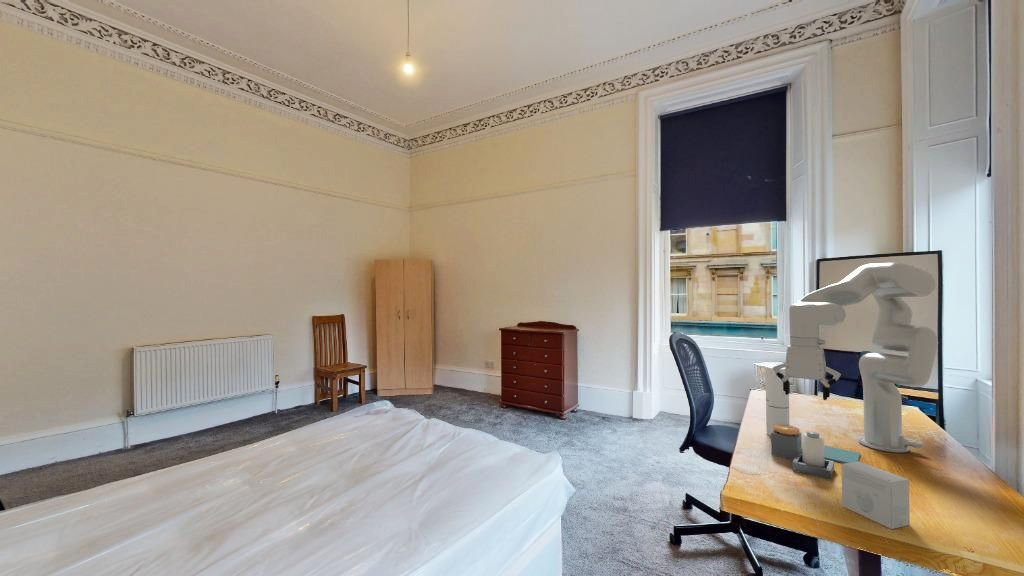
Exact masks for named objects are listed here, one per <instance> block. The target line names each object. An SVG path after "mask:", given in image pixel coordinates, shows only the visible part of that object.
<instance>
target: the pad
mask: <svg viewBox="0 0 1024 576" xmlns="http://www.w3.org/2000/svg"><path fill="white" fill-rule="evenodd" d="M860 457H861V453H860V452H857V451H853V450H848V449H843V448H839V447H834V446H829V445H825V444H824V459H826V460H830V461H834V463H835V462H836V463H840V464H844V463H851V462H858V461H859V462H860Z"/></svg>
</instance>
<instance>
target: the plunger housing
mask: <svg viewBox="0 0 1024 576" xmlns="http://www.w3.org/2000/svg"><path fill="white" fill-rule="evenodd" d="M802 434H803V432H800V434H797V435H793V436H789V435H784V434H780V433H779V432H777V431H775V430H773V432H772V433H771V436H770V439H771V443H770V444H771V446H770V447H771V450H770V451H771V455H772V456H775V455H776V457H780V458H784V459H789V460H792V461H793V460H794V459H795V457H796V456H797V454H798V453H800V454H802Z"/></svg>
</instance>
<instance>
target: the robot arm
mask: <svg viewBox="0 0 1024 576" xmlns="http://www.w3.org/2000/svg"><path fill="white" fill-rule="evenodd" d="M936 285H937V284H936V279H935V277H934V276H933V275H932V274H931V273H930V272H928V271H927V270H924V269H922V268H918V267H915V266H914V265H910V264H907V263H903V262H897V261H895V262H894V261H893V262H879V263H878V262H877V263H867V264H863V265H861V266H859V267H857V268H856V269H854V270H853V271H852V272H850V273H849V274H848V275H847V276H845V277H844V278H842V279H841V280H840V281H839V282H837V283H833V284H830V285H828V286H826V287H822V288H820V289H817V290H814V291H812V292H810V293H808V294H806V295H804V296H803V297H802V298H800V299H799V300H797V302H795V303H793V304H791V305H790V306H789V308H788V309H789V312H788V314H789V315H788V316H789V319H788V320H789V341H790V342H789V344H788V345H787V347H786V355H785V362H783V363H781V364H778V365H775V366H774V367H773V370H774V371H775V373H776V375H777V376H778V377H779V378H780V379H781V380H782V382H783V391H785V394H786V395H788V394H789V395H790V393H791V387H790V386H791V383H790V378H797V379H805V380H812V381H819V382H820V383H821V384H822V385H823V386H822V400H823V401H827V399H828V398H830V396H831V395H830V394H831V391H830V390H831V388H830V387H831V386H833V385H834V384H836V382H837V381H838V380H839V379H840V377H841V376H842V374H841V373H840V372H838V371H836V370H835V369H832V368H830V367H828V366H827V364H826V363H827V362H826V355H825V351H824V348H823V347H821V346H823V345H826V340H825V339H821V338H820V326H821V327H836V326H839V325H841V324H842V323H843V322H844V321H845V320H846V315H847V314H846V311H845V308H844V307H848V306H852V305H857V304H859V303H862V302H863V301H864V300H865V299H867V297H869V296H870V295H872V296H873V298H874V300H875V302H876V304H877V307H878V312H877V313H878V314H877V317H876V321H875V326H874V329H873V333H872V336H871V337H872V338H871V343H872V345H873V346H874V347H875V348H876V349H878V350H881V351H885V352H886V351H887V352H893V353H882V352H868V353H865V354H863V355H862V356H861V357H860V358H859V361H858V368H859V373H860V376H861V380H862V392H863V393H862V394H863V401H862V402H863V435H861V436H858V440H857V441H858V443H860V444H861V445H863V446H865V447H868V448H871V449H874V450H879V451H882V452H887V453H888V452H889V453H896V454H898V453H899V454H901V453H902V454H904V453H907V452H909V451H910V447H913V448H917V449H923V442H920V441H917V440H916V439H909V438H907V437H905V436H904V433H903V417H902V416H903V409H902V408H903V407H902V394H901V392H900V390H899V389H898V387H897V386H896V385H901V386H906V387H911V388H921V387H924V386H925V385H926V384H928V382H929V380H930V378H931V376H932V371H933V367H934V363H935V358H936V355H937V350H938V346H939V345H938V344H939V342H938V337H937V334H936V332H935V331H934V329H932V328H930V327H928V326H926V325H918V324H911V323H912V318H913V311H912V309H911V307H910V306H909V304H908V303H907V302H905V300H904V299H903V298H924V297H928V296H930V295H931V294H932V293H934V292H935V290H936V288H937V287H936ZM894 352H895V353H903V354H907V355H898V354H894ZM784 367H785V372H786V376H784V375H783V374H782V373H781V372H780V370H779V369H781V368H784ZM827 373H829V374H830V375H833V377H832V379H830V380H828V379H827V378H826V377H827ZM788 379H789V381H788ZM895 384H896V385H895Z"/></svg>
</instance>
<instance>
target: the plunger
mask: <svg viewBox="0 0 1024 576" xmlns="http://www.w3.org/2000/svg"><path fill="white" fill-rule="evenodd" d="M773 429H774V430H775V431H777V432H779V433H780V434H784V435H789V436H793V435H797V434H800V433H801V432H800V428H798V427H797V426H793V425H784V424H776V425H774V426H773Z"/></svg>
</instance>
